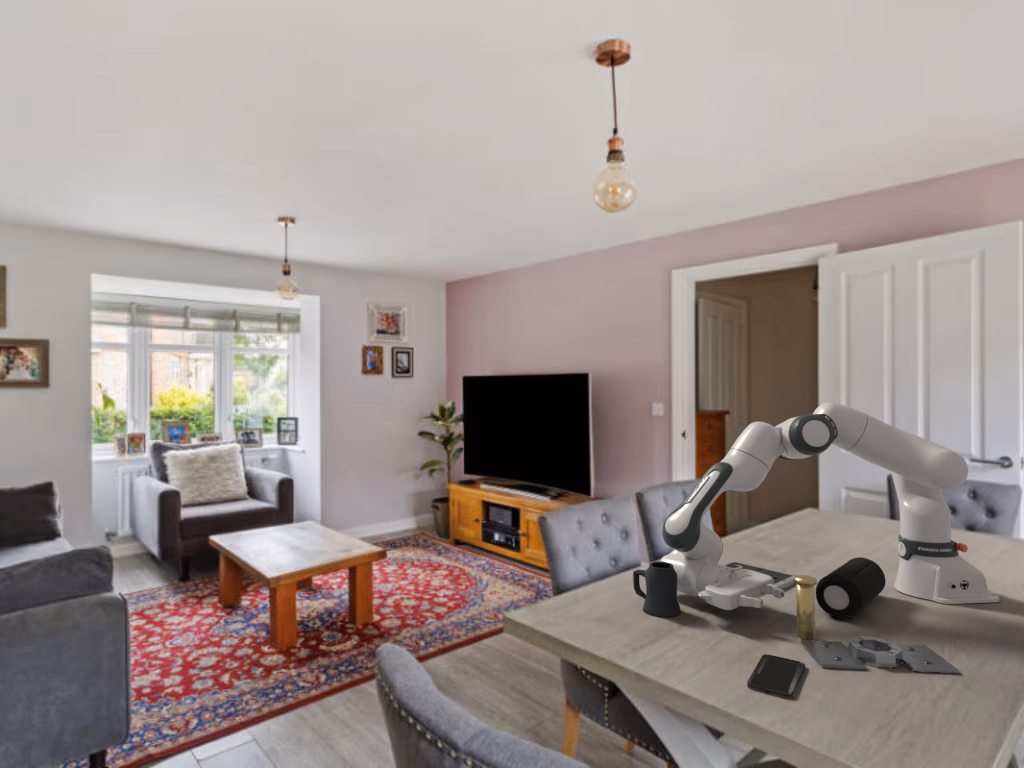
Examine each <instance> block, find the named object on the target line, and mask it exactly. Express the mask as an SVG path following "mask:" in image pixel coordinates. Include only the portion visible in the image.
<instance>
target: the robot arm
mask: <svg viewBox="0 0 1024 768" xmlns="http://www.w3.org/2000/svg"><path fill="white" fill-rule="evenodd" d="M831 445H833V446H835V447H838V448H840V449H842V450H844V451H846V452H849V453H850V454H852V455H855V456H856V457H858V458H861V459H863V460H864V461H867V462H868V463H871V464H873V465H876V466H878V467H881V468H883V469H886V470H887V471H890V473H891V476H892V480H893V484H894V487H895V491H896V496H897V500H898V507H899V527H900V529H899V530H900V534H899V535H898V541H897V542H898V546H897V548H898V549H897V550H898V556H899V562H898V568H897V569H898V570H897V574H896V578H895V581H894V583H893V588H894V589H895V590H896V591H898V592H900V593H903V594H905V595H908V596H912V597H915V598H920V599H925V600H929V601H932V602H933V601H934V602H937V603H940V604H945V605H957V604H958V605H959V604H962V605H963V604H983V603H984V604H985V603H986V604H987V603H1000V597H999V595H998V594H996V592H994V591H993V590H990V589H989V587H988V582H987V579H986V576H985V575H984V573H983V572H982V570H980V569H979V568H977V567H975V565H973V564H972V563H970V562H969V561H967V559H965V558H964V557H962V555H960V554H959V552H961V553H967V551H969V547H968V545H966V544H965V543H963V542H956V541H954V540H953V539H952V515H951V513H952V512H951V509H950V507H949V506H948V505H949V504H947V502H946V501H945V498H944V496H943V493H942V490H951V489H956V488H958V487H960V486H962V484H964V483H965V482H966V480H967V478H968V475H969V465H968V463H967V461H966V460H965V458H964V457H963V456H962V455H960V454H959V453H957V452H955V451H954V450H951V449H950V448H947V447H945V446H943V445H940V444H938V443H936V442H933V441H931V440H928V439H926V438H924V437H922V436H921V437H920V436H918V435H917V434H913V433H911V432H908V431H905V430H902V429H900V428H897V427H894V426H893V425H890V424H888V423H886V422H884V421H882V420H880V419H878V418H876V417H873V416H871V415H869V414H866V413H865V412H862V411H860V410H858V409H855V408H853V407H850V406H847V405H843V404H841V403H836V402H832V401H827V402H823V403H821V404H820V405H818V407H816V408H815V410H814V411H813V413H807V414H802V415H799V416H794V417H790V418H788V419H786V420H784V421H783V422H780V423H777V424H776V425H772V424H770V423H768V422H764V421H753V422H751V423H749V424H748V425H747V426H746V427H745V428H744V429H743V431H742V432H741V433H740V434H739V436H737V438H736V440H735V441H734V442H733V444H732V446H731V447H730V449H729V450H728V451H727V454H726V455H725V456H724V458H722V459H721V460H720V461H719V462H718V461H717V462H716V463H714V464H713V465H711V466H710V467H709V468H708V469H707V471H706V472H705V473H703V476H701V478H699V480H698V481H697V482H696V484H695V486H693V488H692V489H691V491H689V493H688V495H687V496H686V497H685V498H684V499H683V501H682V502H681V503H680V504H679V505H678V506H677V507H676V508H675V509H674V510H673V511H671V512H670V514H668V516H666V518H665V519H664V521H663V525H662V529H661V531H662V533H661V534H662V538H663V541H664V543H665V544H666V545H667V546H669V547H670V548H671V549H673V550H672V551H670V553H668V554H666V555H664V556H662V557H661V558H660V561H661V562H668V563H671V564H672V565H673V566H674V570H675V571H676V573H677V592H681V593H683V594H686V595H689V596H690V595H692V596H693V595H695V596H698V597H699V598H701V599H702V600H704V601H705V602H706V603H707V604H709V605H711V606H714V607H716V608H719V609H722V610H724V611H725V610H726V611H732V610H735V609H737V608H739V607H752V608H756V609H760V608H762V607H764V600H763V599H762V598H763V597H765V596H766V595H772V596H773V597H774V598H776V599H781V598H784V597H785V589H779V588H777V587H775V586H774V581H773V578H772V577H770V576H768V575H766V574H763V573H759V572H756V571H752V570H748V569H743V568H742V566H740V565H726V566H724V565H720V564H719V562H720V559H721V557H722V555H723V551H724V543H723V541H722V538H721V537H720V535H719V534H718V533H716V532H715V531H714V530H713V529H712V528H711V527H709V526H707V524H705V523H704V516H705V515H706V513H707V512H708V511H709V509H710V508H711V507H712V505H713V504H714V503H715V502H716V500H717V499H718V498H719V496H721V494H723V493H724V492H726V491H736V492H750V491H753V490H756V489H757V488H758V487H759V486H760V485H761V484H762V483H763V481H765V479H766V478H767V475H768V473H769V472H770V470H771V467H772V466H773V464H774V463H775V461H777V459H778V458H780V459H783V460H788V461H789V460H790V461H791V460H792V461H793V460H803V459H808V458H810V457H813V456H818V455H820V454H822V453H824V452H825V451H827V449H829V448H830V446H831Z"/></svg>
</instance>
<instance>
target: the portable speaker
mask: <svg viewBox="0 0 1024 768" xmlns="http://www.w3.org/2000/svg"><path fill="white" fill-rule="evenodd" d="M885 586H886V575H885V573H884V571H883V569H882V568H881V566H880V565H878V563H876V561H873V559H872V560H871V559H869V558H867V557H862V556H861V557H859V556H858V557H853V558H851V559H849V560H848V561H846V562H845V563H844V564H842V565H841V566H839V567H837V568H836V569H834V570H833V571H831V572H830V573H828V574H827V575H825V576H823V577H822V578H821V579H820V580H819V581H818V582H817V584H816V586H815V599H816V602H817V603H818V606H819V607H820V609H822V611H824V612H825V613H826V614H828V615H830V616H831V617H832V616H833V617H836V618H840V619H847V618H851V617H854V616H855V615H857V614H858V613H859V612H860V611H861V610H862V609H863V608H864V607H866V606H867V605H869V603H870V602H871V601H873V600H874V599H875V598H876V597H877V596H878V595H879V594H881V593H882V592H883V591H884V588H885Z"/></svg>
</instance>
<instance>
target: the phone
mask: <svg viewBox="0 0 1024 768" xmlns="http://www.w3.org/2000/svg"><path fill="white" fill-rule="evenodd" d="M805 671H806V663H804V662H802V661H799V660H795V659H790V658H785V657H783V656H782V657H781V656H777V655H772V654H765V653H764V654H762V655H761V657H760V659H759V661H758V662H757V664H756V666H755V667H754V669H753V670H752V672H751V674H750V676H749V678H748V679H747V681H746V683H747V684H746V687H747V689H749V690H751V691H755V692H759V693H763V694H767V695H770V696H774V697H778V698H781V699H786V700H792V699H794V698H795V696H796V693H797V691H798V688H799V685H800V683H801V681H802V679H803V675H804V674H805Z"/></svg>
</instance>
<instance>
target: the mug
mask: <svg viewBox="0 0 1024 768" xmlns="http://www.w3.org/2000/svg"><path fill="white" fill-rule="evenodd" d="M632 574H633V575H632V579H633V581H632V583H633V589H634V592H635V594H636V595H637V596H639V597H641V598H642V599H644V603H643V606H642V611H643V613H645V614H646V615H647V616H648V615H649V616H651V617H654V618H661V619H662V618H663V619H666V618H667V619H671V618H676V617H679V616H680V615H682V614H681V613H682V611H681V606H680V603H679V601H678V591H677V573H676V571H675V570H674V566H673V565H672V564H671V563H668V562H661V560H660V561H652V562H650V563H649V564H648V567H647V568H646V570H645V569H635V570H633V571H632ZM640 576H641V577H643V578H644V580H645V586H646V589H645V590H646V592H644V591H643V589H641V586H640V584H641V583H640Z"/></svg>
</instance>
